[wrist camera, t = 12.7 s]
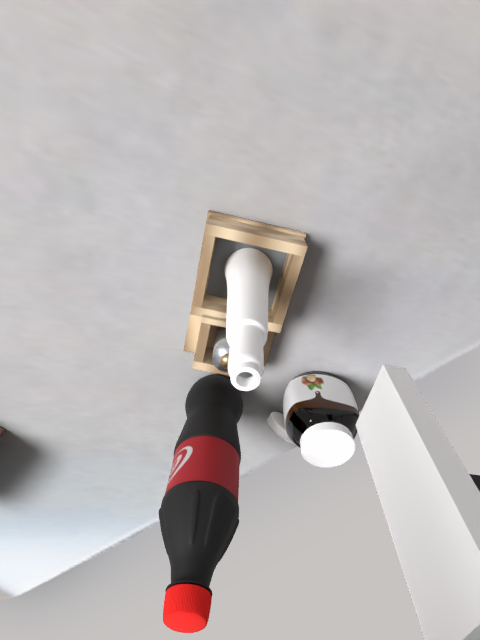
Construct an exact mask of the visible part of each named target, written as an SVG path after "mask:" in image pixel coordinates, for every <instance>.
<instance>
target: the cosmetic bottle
mask: <svg viewBox="0 0 480 640" xmlns="http://www.w3.org/2000/svg"><path fill="white" fill-rule="evenodd" d="M224 272H225V277H226V281H227V315H226V339H227V342H228V344H229V345H230V349H229V359H228V373H229V375H230V380H231V383H232V385H233V386H234V387H235V388H237V389H238V390H241V391H250V390H253V389H255V388H256V387H258V385H259V384H260V381H261V377H262V375H263V372H264V355H263V346H264V345H265V343H266V341H267V333H268V292H269V284H270V280H271V277H272V272H273V269H272V264H271V261H270V260H269V258H268V257H267V256H266V255H265V254H264V253H263V252H262V251H260V250H257V249H254V248H243V249H240V250H237V251H236V252H234V253H233V254H232V255H231V256H230V257H229V258H228V260H227V261H226V264H225V269H224Z"/></svg>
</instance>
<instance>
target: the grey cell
mask: <svg viewBox="0 0 480 640" xmlns="http://www.w3.org/2000/svg"><path fill="white" fill-rule="evenodd" d="M229 349H230V345H229V344H228V342H227V339H226V328H225V327H221V326H218V328H217V332H216V338H215V343H214V349H213V355H212V362H213V364H214V366H215V367H216V368H217V369H218V370H220V371H222V372H227V373H228V359H229Z"/></svg>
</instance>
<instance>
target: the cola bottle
mask: <svg viewBox="0 0 480 640" xmlns="http://www.w3.org/2000/svg"><path fill="white" fill-rule="evenodd" d="M185 408H186V415H187V421H186V423H185V425H184V427H183V430H182V432H181V434H180V436H179V439H178V441H177V443H176V446H175V450H174V459H173V463H172V467H171V472H170V476H169V480H168V484H167V489H166V493H165V496H164V498H163V501H162V505H161V508H160V510H159V519H160V526H161V532H162V536H163V540H164V544H165V548H166V551H167V554H168V556H169V560H170V565H171V584H170V585H168V586H167V588H166V594H165V601H164V609H163V622H164V624H165V625H166V626H167V627H168V628H170V629H172V630H174V631H177V632H183V633H193V632H198V631H200V630H202V629H204V628H205V627H206V625H207V622H208V618H209V613H210V607H211V598H212V591H211V589H210V588H209V585H210V582H211V578H212V575H213V572H214V569H215V567H216V565H217V564H218V562H219V561H220V560H221V558H222V557H223V555H224V553H225V552H226V550H227V548H228V546H229V544H230V542H231V540H232V538H233V536H234V534H235V531H236V529H237V527H238V524H239V519H238V517H239V506H238V488H239V464H240V460H241V451H240V444H239V437H238V431H237V423H238V421H239V419H240V417H241V414H242V409H243V402H242V397H241V393H240V391H239V390H238V389H237V388H235V387H234V386H233V385H232V383H231V380H230V379H228V378H226V377H223V376H219V375H210V376H206V377H203V378H201V379H200V380H198V381H197V382H196V383H195V384H194V385H193V386H192V388H191V389H190V391H189V393H188V395H187V398H186V404H185Z"/></svg>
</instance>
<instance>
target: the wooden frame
mask: <svg viewBox="0 0 480 640" xmlns="http://www.w3.org/2000/svg"><path fill="white" fill-rule="evenodd" d="M305 238H306V233H304V232H300V231H296V230H291V229H287V228H283V227H279V226H274V225H270V224H266V223H261V222H257V221H253V220H248V219H244V218H240V217H236V216H231V215H227V214H223V213H218V212H214V211H210V210H209V211H208V215H207V221H206V226H205V232H204V238H203V243H202V249H201V255H200V260H199V266H198V272H197V277H196V283H195V289H194V295H193V300H192V306H191V312H190V317H189V323H188V329H187V334H186V340H185V346H184V351H187V352H192V353H195V357H194V362H193V367H192V368H193V369H198V370H203V371H209V372H214V373H219V374H224V375H229V373H227V372H222V371H220V370H218V369H217V368H216V367H215V366H214V364H213V362H212V355H213V349H214V343H215V338H216V332H217V328H218V326H221V327H225V328H226V315H227V281H226V277H225V272H224V269H225V264H226V261H227V260H228V258H229V257H230V256H231V255H232V254H233V253H234V252H236V251H237V250H240V249H243V248H254V249H257V250H260V251H262V252H263V253H264V254H265V255H266V256H267V257H268V258H269V260H270V261H271V264H272V269H273V272H272V277H271V280H270V284H269V292H268V333H267V341H266V343H265V345H264V346H263V355H264V367H265V365H266V361H267V358H268V355H269V352H270V349H271V346H272V342H273V339H274V336H275V333H276V332H277V333H280V331H281V328H282V325H283V322H284V319H285V316H286V313H287V310H288V307H289V303H290V300H291V297H292V294H293V291H294V288H295V285H296V282H297V279H298V276H299V272H300V269H301V266H302V263H303V260H304V257H305V254H306V251H307V248H308V246H307V244H306V242H305ZM229 376H230V375H229Z"/></svg>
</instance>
